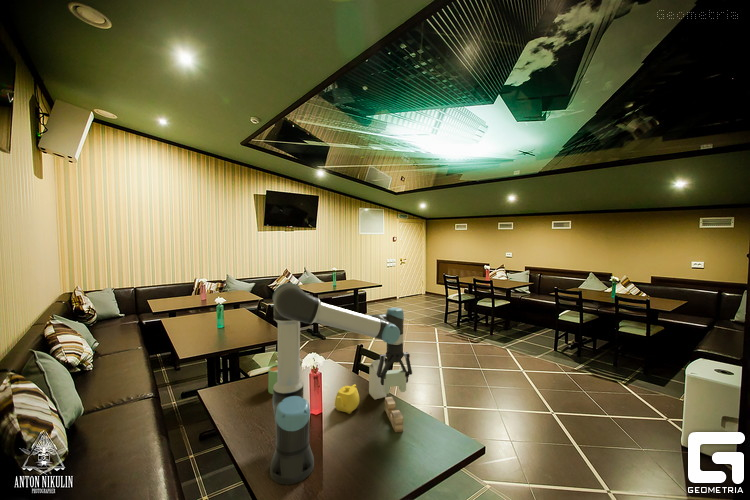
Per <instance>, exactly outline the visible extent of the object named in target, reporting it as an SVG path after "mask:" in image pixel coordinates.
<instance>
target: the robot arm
mask: <svg viewBox="0 0 750 500" xmlns="http://www.w3.org/2000/svg"><path fill="white" fill-rule="evenodd" d="M272 302H273V321H275V322H276V323H277V363H276V365H277V382H276V383H275V384H274V386H273V394H272V399H271V405H272V408H273V417H274V423H275V450H274V453H273V456H272V459H271V462H270V466H269V467H270V469H269V470H270V471H269V472H270V473H269V475H270V477H271V479H272V480H273V481H274V482H275V483H276V484H280V485H284V484H285V485H287V486H288V485H289V486H290V485H294V484H298V483H301V482H302V481H304V480H305V479H307V478H308V477H309V476H310V475H311V474H312V472H313V471H314V468H315V459H314V458H315V457H314V454H313V452H312V449H311V445H310V417H311V408H310V404H309V402H308V400H307V399H306V398H304V382H303V381H302V379H300V376H301V375H300V373H301V372H300V371H301V369H300V368H301V367H300V366H301V365H300V363H301V355H300V354H301V323H304V324H308V325H312V324H313V323H314V324H315V323H317V324H321V325H324V326H328V327H331V328H335V329H339V330H344V331H347V332H351V333H355V334H359V335H363V336H367V337H369V338H373V339H378V340H381V341H383V342H384V343H386V352H385V354H382V353H380V354H379V360H380V362H379V366H378V370H377V376H378V378H381V385H383V392H384V393H386V378H385V375H386V373H387V371H388V370H389V369H390V367H391V366H392V364H395V363H396V364H399V365H400V367H401V369H403V371H404V372H405V392H407V384H408V382H409V377H410V375H413V370H412V365H411V361H410V356H411V355H410V353H409V352H408V351H406V352H404V343H403V342H404V323H405V322H404V319H405V317H404V310H403V309H402V308H401V307H393V306H392V307H390V308H387V310H386V313H378V314H376V313H375V314H368V315H366V314H364V313H359V312H356V311H352V310H349V309H347V308H346V309H345V308H342V307H338V306H336V305H332V304H328V303H325V302H322V301H321V300H320V298H319V297H316V296H312V295H310V294H309V293H307V292H305V291H304V290H302V288H301V287H300V285H297V284H296V283H292V282H285V283H282V284H280V285H278V286H277V287H276V288H275V289H274V291H273V293H272ZM386 358H387V359H386ZM403 358H404V359H405V363H406V366H405V365H404V363H403V360H402V359H403ZM385 360H386V361H385ZM384 362H385V366H384V368H383V363H384ZM382 368H383V371H382ZM381 372H382V373H381ZM307 476H308V477H307ZM306 477H307V478H306Z"/></svg>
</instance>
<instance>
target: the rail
mask: <svg viewBox="0 0 750 500" xmlns="http://www.w3.org/2000/svg"><path fill="white" fill-rule="evenodd" d="M396 405H397V404H396V401H395V400H394V398H393V396H388V397H387V396H386V397H384V411H385V412H386V415H387V418H388V420H389V422H390V424H391V426H392V428H393V431H394V432H395V433H402V432H404V416H403V414H402V413H401V411H400V409H398V410H397V409H396Z"/></svg>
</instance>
